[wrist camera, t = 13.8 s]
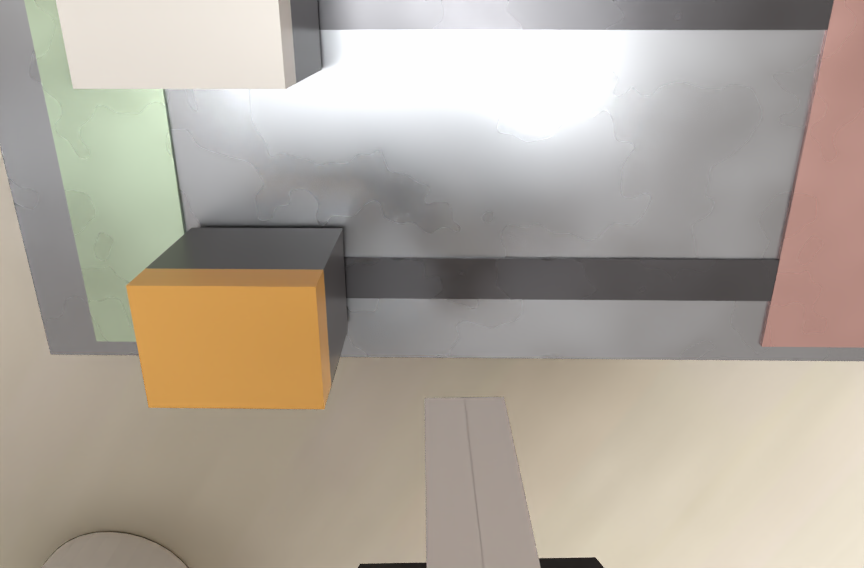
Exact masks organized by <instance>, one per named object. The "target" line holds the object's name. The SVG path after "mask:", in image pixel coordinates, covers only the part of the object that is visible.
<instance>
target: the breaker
mask: <svg viewBox="0 0 864 568" xmlns="http://www.w3.org/2000/svg"><path fill="white" fill-rule="evenodd" d="M56 4H57V9H58V14H59V19H60V24H61V29H62V34H63V40H64V45H65V50H66V55H67V60H68V65H69V70H70V75H71V80H72V86H73V89H287V88H289V87H290V86H292V85H294V84H296V83H298V82H300V81H302V80H304V79H306V78H307V77H309V76H311V75H313V74H315V73H317V72H319V71H321V70H322V69H321V52H320V36H319V19H318V2H317V0H56Z"/></svg>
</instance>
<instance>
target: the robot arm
mask: <svg viewBox="0 0 864 568" xmlns="http://www.w3.org/2000/svg"><path fill="white" fill-rule="evenodd" d="M425 470H426V558H427V563H382V564H360V565H359V567H358V568H604V567H603V566H602V565H601V564H600V563H599V561H598V560H597V559H596V558H541V559H539V558H538V553H537V548H536V544H535V539H534V535H533V530H532V525H531V521H530V516H529V511H528V507H527V502H526V497H525V493H524V488H523V483H522V479H521V474H520V469H519V465H518V460H517V455H516V451H515V446H514V442H513V437H512V432H511V428H510V423H509V418H508V414H507V409H506V404H505V400H504V397H461V398H425Z"/></svg>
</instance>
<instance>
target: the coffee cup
mask: <svg viewBox="0 0 864 568" xmlns="http://www.w3.org/2000/svg"><path fill="white" fill-rule="evenodd" d="M41 568H187V566H186V565H185V564H184V563H183V562H182V561H181V560H180V559H179V558H178V557H176V556H175V555H174V554H173V553H172V552H170V551H169V550H167V549H165V548H164V547H162V546H160V545H159V544H157V543H155V542H152V541H150V540H147V539H145V538H143V537H139V536H135V535H131V534H127V533H117V532H97V533H91V534H87V535H82V536H79V537H77V538H75V539H72V540H70V541H68V542H66V543H65V544H64V545H62V546H61V547H60V548H58V549H57V550H56V551H55V552H54V553H53V554H52V555H51V556H50V558H49V559H48V560H47V561H46V562H45V563H44V565H43V566H42V567H41Z"/></svg>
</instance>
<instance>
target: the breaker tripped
mask: <svg viewBox="0 0 864 568" xmlns="http://www.w3.org/2000/svg"><path fill="white" fill-rule="evenodd" d="M126 289H127V294H128V299H129V305H130V310H131V315H132V321H133V326H134V332H135V337H136V342H137V348H138V353H139V358H140V364H141V369H142V374H143V380H144V385H145V390H146V396H147V401H148V406H149V408H244V409H325V405H326V402H327V399H328V395H329V392H330V389H331V385H332V382H333V379H334V375H335V372H336V369H337V365H338V362H339V359H340V355H341V352H342V348H343V345H344V342H345V338H346V335H347V332H348V324H347V305H346V286H345V268H344V249H343V230H342V228H191V229H190V230H188V231H187V232H186V233H185V234H184V235H183V236H182V237H181V238H179V239H178V240H177V241H176V242H175V243H174V244H173V245H171V246H170V247H169V248H168V249H167V250H166V251H165V252H164V253H162V254H161V255H160V256H159V257H158V258H157V259H156V260H154V261H153V262H152V263H151V264H150V265H149V266H148V267H146V268H145V269H144V270H143V271H142V272H141V273H140V274H139V275H137V276H136V277H135V278H134V279H133V280H132V281H131V282H129V283H128V284H127V285H126Z"/></svg>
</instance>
